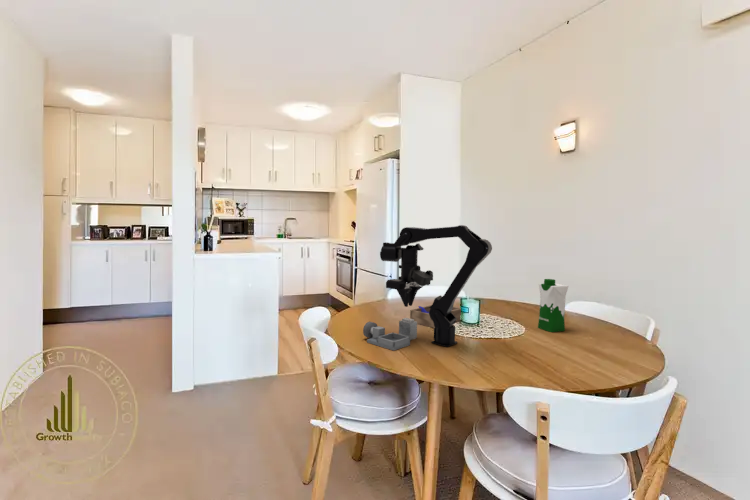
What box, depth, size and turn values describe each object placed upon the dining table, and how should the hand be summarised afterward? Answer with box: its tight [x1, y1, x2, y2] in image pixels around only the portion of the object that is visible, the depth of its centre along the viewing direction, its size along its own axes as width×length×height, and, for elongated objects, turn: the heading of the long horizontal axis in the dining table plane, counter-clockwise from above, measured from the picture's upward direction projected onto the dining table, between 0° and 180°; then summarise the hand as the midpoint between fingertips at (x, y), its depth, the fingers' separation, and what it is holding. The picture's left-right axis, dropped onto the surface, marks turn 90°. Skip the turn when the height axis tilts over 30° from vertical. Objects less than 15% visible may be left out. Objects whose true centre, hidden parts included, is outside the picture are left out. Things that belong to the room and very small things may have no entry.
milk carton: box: [537, 278, 569, 333], centre depth 159 cm, size 9×9×20 cm
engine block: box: [398, 317, 418, 341], centre depth 144 cm, size 5×4×7 cm
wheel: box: [362, 321, 379, 339], centre depth 142 cm, size 2×6×6 cm, turn 137°
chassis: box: [366, 325, 411, 351], centre depth 137 cm, size 14×8×5 cm, turn 47°
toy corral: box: [409, 304, 462, 329], centre depth 169 cm, size 13×20×5 cm, turn 137°
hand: (408, 306), depth 144 cm, fingers open, 2 cm apart
